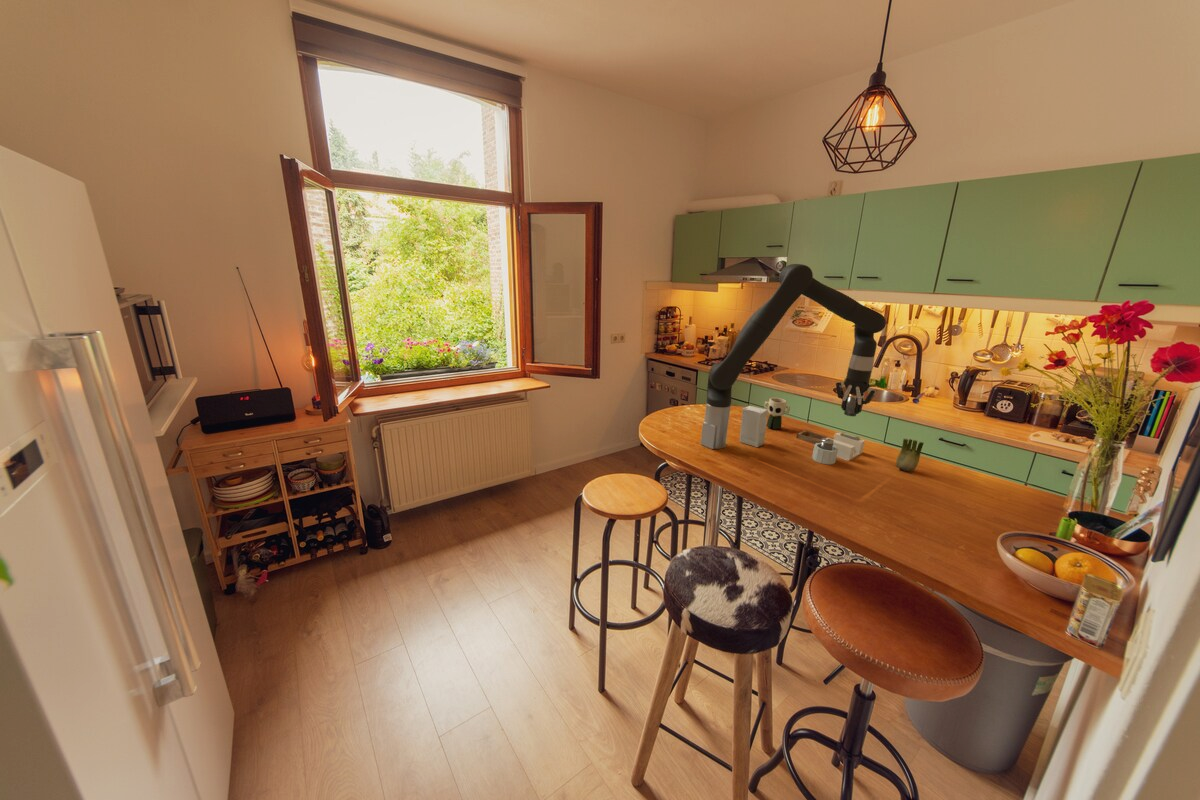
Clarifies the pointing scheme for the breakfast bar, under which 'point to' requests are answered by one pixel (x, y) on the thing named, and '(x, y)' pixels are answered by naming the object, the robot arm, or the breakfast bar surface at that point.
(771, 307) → the robot arm
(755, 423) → the skincare box
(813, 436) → the trough
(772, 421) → the character mug
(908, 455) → the fennel bulb
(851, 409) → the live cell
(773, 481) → the breakfast bar surface
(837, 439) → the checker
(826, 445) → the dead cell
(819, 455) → the white faceted round pot
